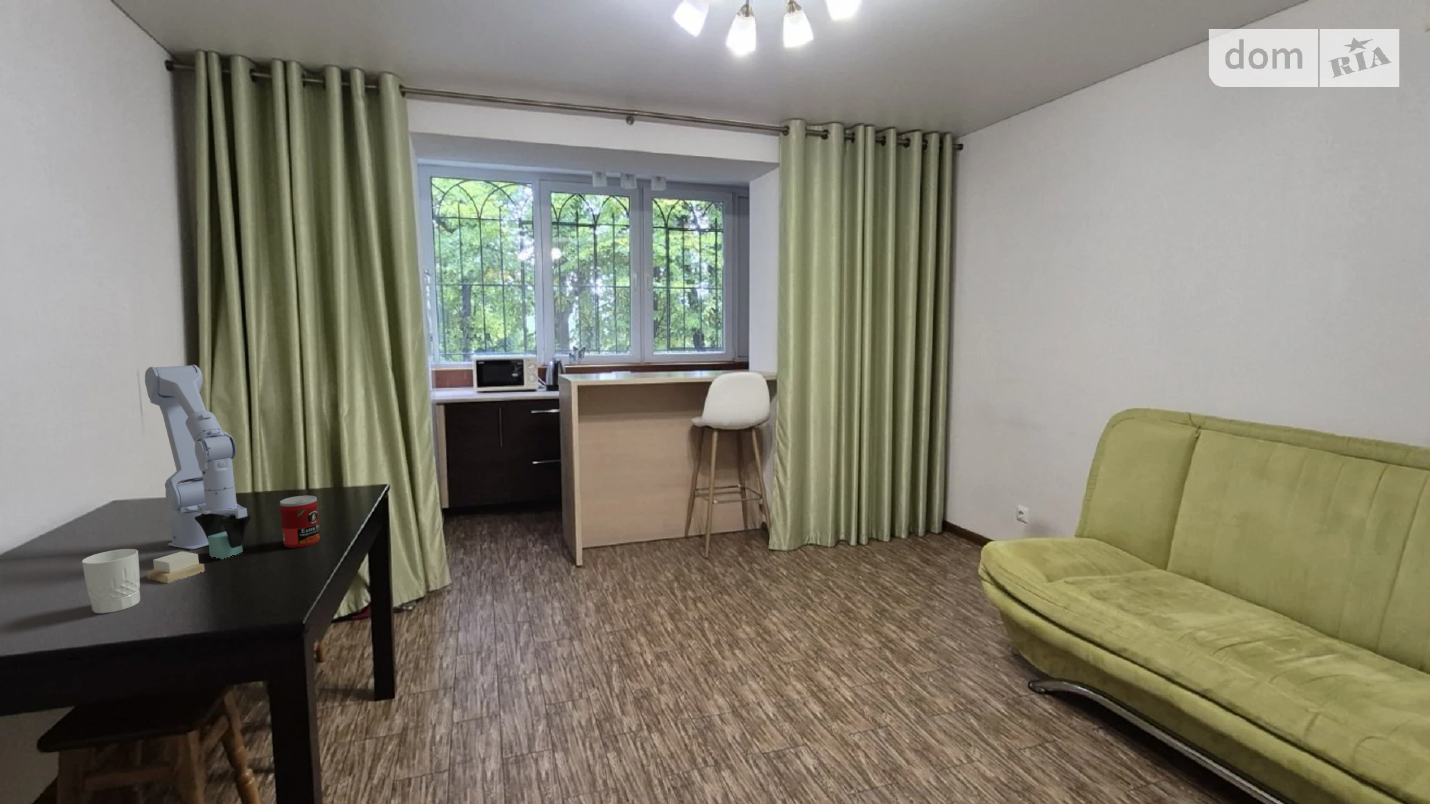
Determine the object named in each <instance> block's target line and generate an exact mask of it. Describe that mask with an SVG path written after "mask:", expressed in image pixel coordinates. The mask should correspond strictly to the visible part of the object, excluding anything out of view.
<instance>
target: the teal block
mask: <svg viewBox="0 0 1430 804" xmlns="http://www.w3.org/2000/svg"><path fill="white" fill-rule="evenodd" d="M208 543H209V545H208V549H209V550H208V551H209V557H210V556H211V557H210V558H213V557H216V558H215V559H218V558H220V560H225V559H228V558H231V557H230V556H232V555H235V556H238V555H240V554H239V553H241V552H243V553H244V550H243V545H242V546H238V547H235V548H231V547H230V544H229V541H228V536H227V533H226V530H224V531H223V532H222V531H221V533H218V534H215V535H211V536H208ZM237 554H238V555H237ZM241 554H242V553H241ZM227 557H228V558H227ZM232 557H233V556H232ZM224 558H225V559H224Z"/></svg>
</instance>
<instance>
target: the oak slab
mask: <svg viewBox="0 0 1430 804" xmlns="http://www.w3.org/2000/svg"><path fill="white" fill-rule="evenodd" d="M204 571H206V569H205V564H204V563H200V562H199V564H197V565H194V566H190V567H187V568H184V569H181V570H178V571H175V572H171V573H168V572H163V571H158V570H154V568H153V569H150V570H147V571H146V575H147V580H150V579H153V580H152V581H155V580H157V581H156V582H159V581H160V583H164V584H170V583H173V581H174V582H176V581H175V580H177V581H179V580H178V579H180V580H183V579H186V578H189V577H191V576H192V577H193V576H195V575H197V574H198V573H199V574H200V572H202V573H204ZM188 576H189V577H188Z"/></svg>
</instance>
